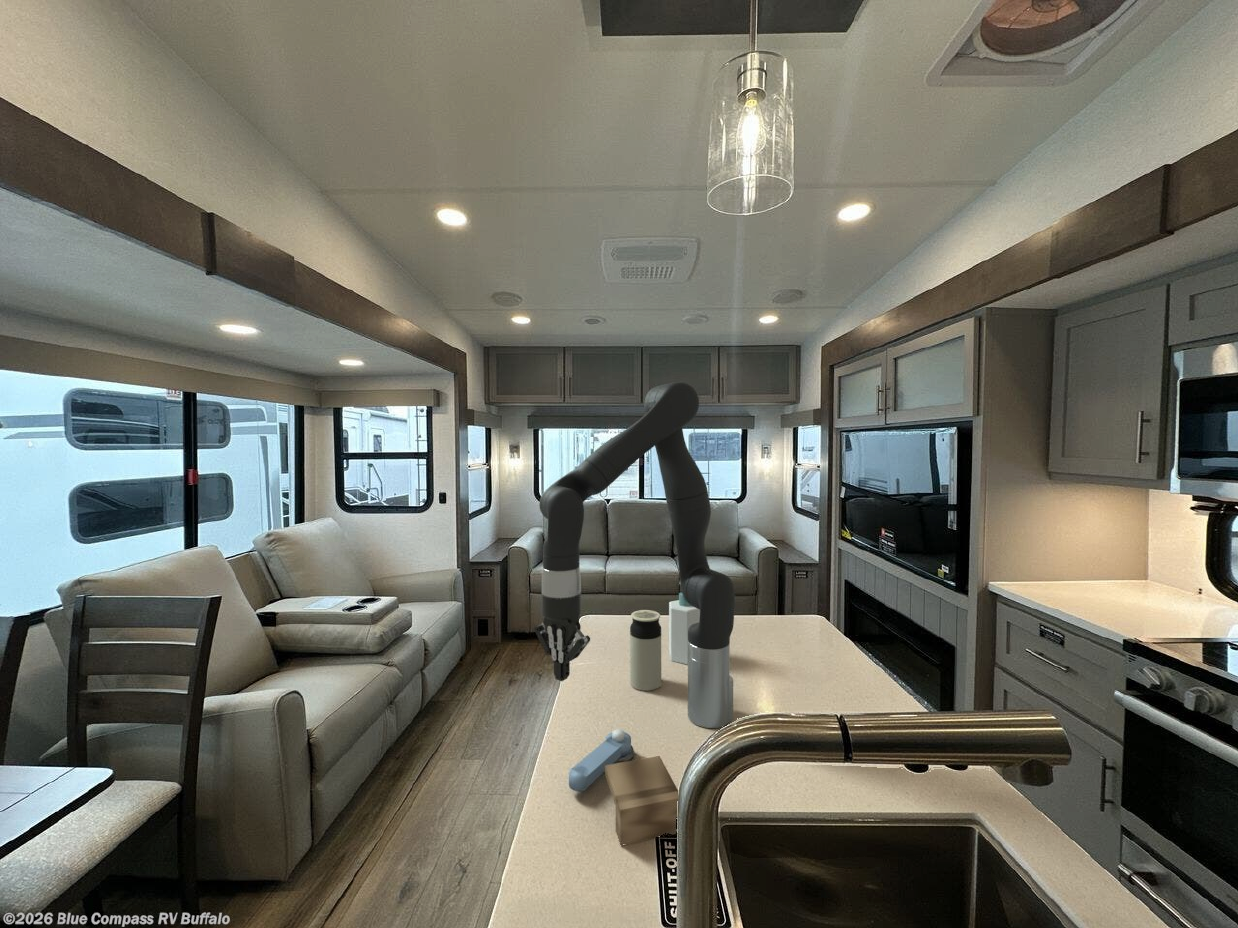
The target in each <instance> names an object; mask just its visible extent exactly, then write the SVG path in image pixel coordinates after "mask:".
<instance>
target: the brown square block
mask: <svg viewBox="0 0 1238 928" xmlns="http://www.w3.org/2000/svg"><path fill="white" fill-rule="evenodd" d="M665 765H666V764H665V763H664V761H663V760H662V757H661V756H660V755H657V756H651V757H645V758H644V757H643V758H639V759H633V760H632V761H627V762H621V763H616V764H610V765H605V772H604V776H605V778H606V782H607V785H608V787H609V790H610V794H611V797H612V798H613V802H614V805H615V806H614V807H615V833H616V835H617V836H618V837H617V839H619V840H618V842H620V843H619V846H620V845H623V844H627V845H630V844H629V843H632V844H636V843H639V842H645V841H650V840H654V839H657V838H656V837H658V836H661V835H663V834H665V833H666V834H667V833H669V834H672V835H677V834H676V817H677V801H678V791H679V790H678V788H677V786H676V784H675V782H674V780H673V778H672V776H671V775H670V773H669V771H668V769H667V767H666V766H665ZM623 846H624V845H623Z"/></svg>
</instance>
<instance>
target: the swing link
mask: <svg viewBox="0 0 1238 928" xmlns="http://www.w3.org/2000/svg"><path fill="white" fill-rule="evenodd" d="M631 745H632V737H631V735H630V734H629V733H627V732H625V731H624V730H623V729H621V728H616V729H614V730H612V732H610V733H607V734H606V736H605V740H604V741H603V742H602V743H601V744H599V745H598V746H597V747H595V749H593V750H592V751H591V752H590V753H588V754H587V755H586V756H585V757H584V758H583V759H581V760H580V761H579V762H578V763H576V764H575V765H574V766H573V767H572V768H571V769H570V770H569V772H568V787H569V788H570V790H572V791H574V792H581V791H584V790H586V789H587V788H588V787H589V786H590V785H592V784H593V783H594V782H595V781H596V780H597V779H598V778H599V777H600V776H602V775H603V774H604V773H605V765H610V764H613V763H614V762H615V761H616V760H618V759H619V758H620V757H622V756H626V755H627V754H629V753H630V751H631Z"/></svg>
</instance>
